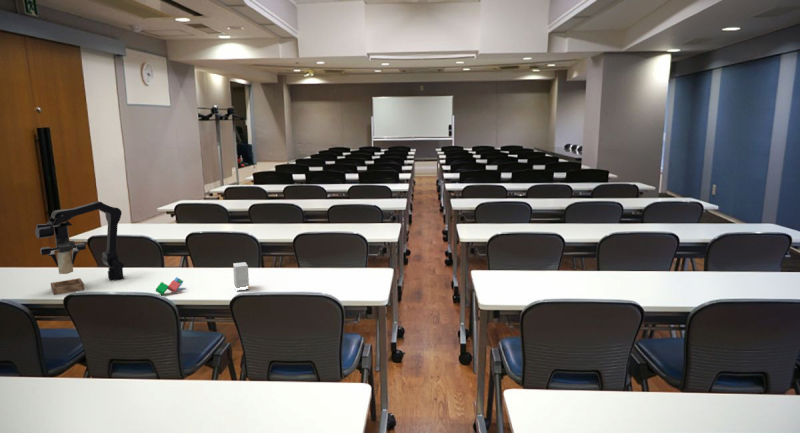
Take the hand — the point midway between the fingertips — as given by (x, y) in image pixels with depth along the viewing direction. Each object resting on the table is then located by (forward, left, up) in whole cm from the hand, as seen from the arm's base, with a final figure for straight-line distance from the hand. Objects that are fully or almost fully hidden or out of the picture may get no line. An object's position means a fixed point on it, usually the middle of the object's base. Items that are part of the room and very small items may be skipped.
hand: (65, 265), depth 252 cm
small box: (-69, +56, -13) cm, 90 cm away
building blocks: (-39, +39, -13) cm, 56 cm away
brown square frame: (0, 0, -13) cm, 13 cm away
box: (0, 0, -4) cm, 4 cm away
